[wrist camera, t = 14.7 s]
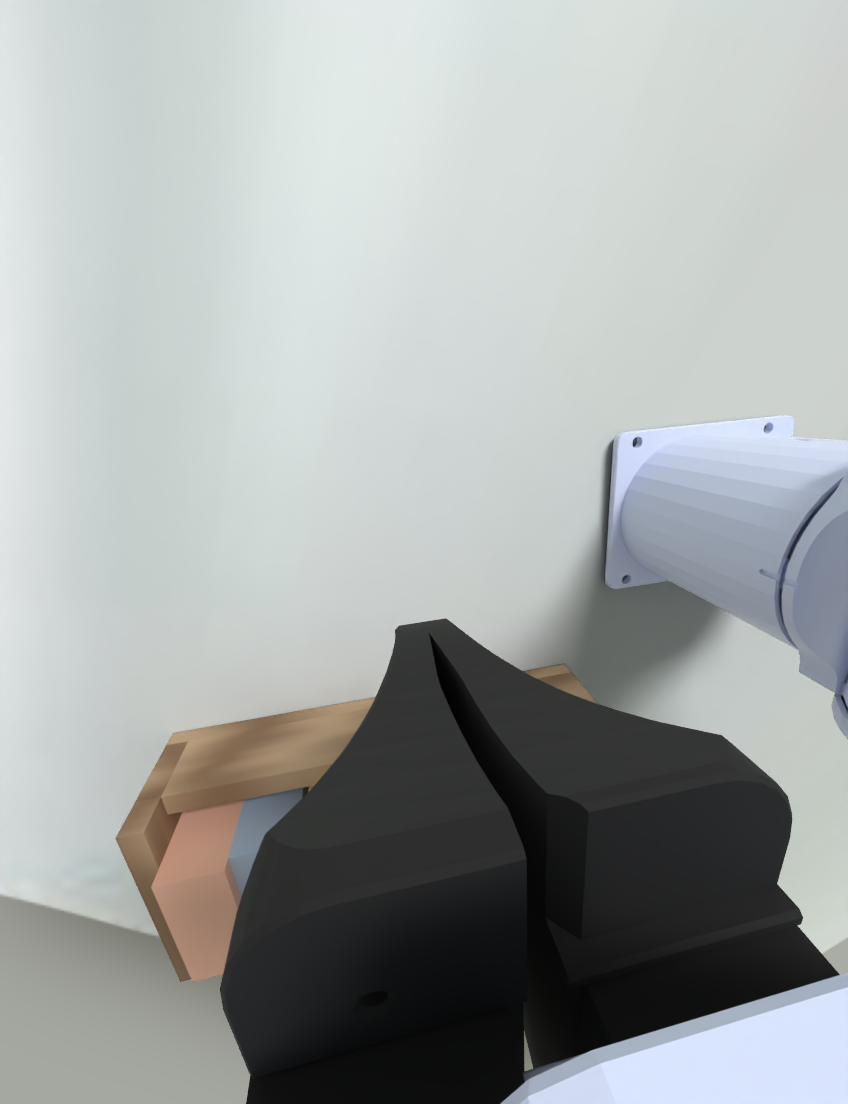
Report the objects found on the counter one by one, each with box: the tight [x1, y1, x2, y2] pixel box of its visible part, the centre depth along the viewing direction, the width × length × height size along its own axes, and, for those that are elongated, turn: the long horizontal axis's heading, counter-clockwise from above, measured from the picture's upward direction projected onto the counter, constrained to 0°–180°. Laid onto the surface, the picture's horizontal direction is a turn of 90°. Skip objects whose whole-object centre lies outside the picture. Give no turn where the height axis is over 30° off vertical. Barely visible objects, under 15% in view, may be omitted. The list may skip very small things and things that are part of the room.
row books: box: [151, 787, 309, 982], centre depth 20 cm, size 5×6×6 cm
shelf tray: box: [116, 664, 598, 982], centre depth 22 cm, size 21×9×6 cm, turn 95°
